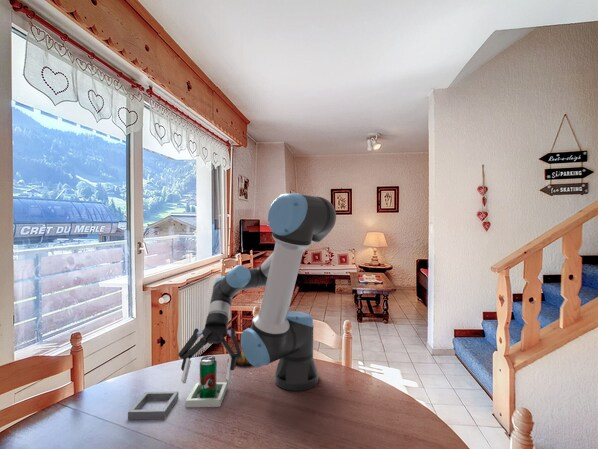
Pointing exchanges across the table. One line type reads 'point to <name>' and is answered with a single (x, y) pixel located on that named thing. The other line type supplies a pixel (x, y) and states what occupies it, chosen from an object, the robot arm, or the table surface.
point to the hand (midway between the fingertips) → (205, 381)
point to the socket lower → (206, 402)
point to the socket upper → (153, 413)
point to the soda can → (208, 377)
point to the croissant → (241, 360)
